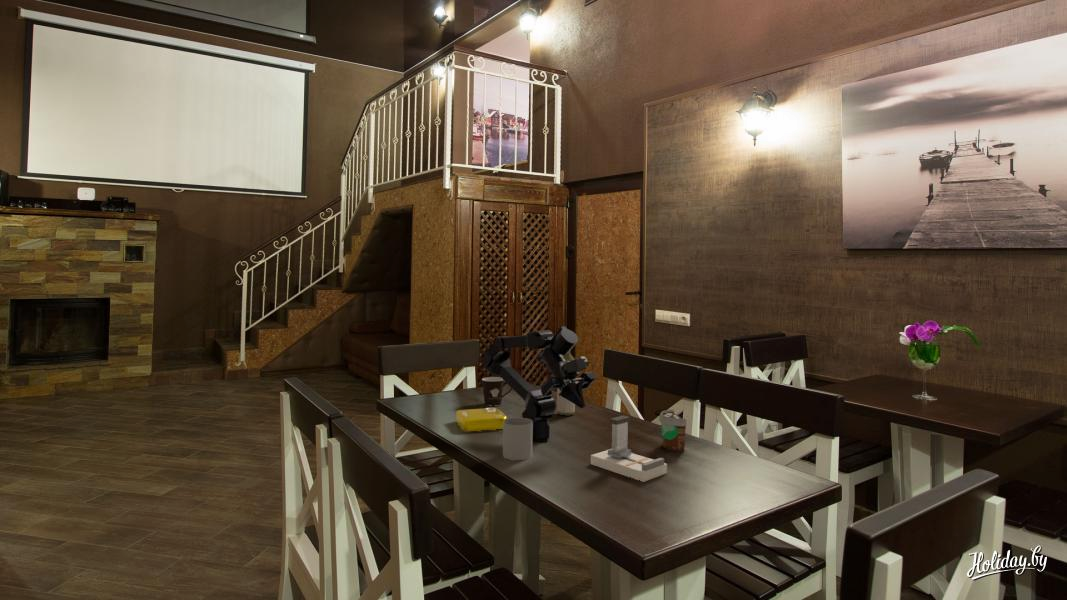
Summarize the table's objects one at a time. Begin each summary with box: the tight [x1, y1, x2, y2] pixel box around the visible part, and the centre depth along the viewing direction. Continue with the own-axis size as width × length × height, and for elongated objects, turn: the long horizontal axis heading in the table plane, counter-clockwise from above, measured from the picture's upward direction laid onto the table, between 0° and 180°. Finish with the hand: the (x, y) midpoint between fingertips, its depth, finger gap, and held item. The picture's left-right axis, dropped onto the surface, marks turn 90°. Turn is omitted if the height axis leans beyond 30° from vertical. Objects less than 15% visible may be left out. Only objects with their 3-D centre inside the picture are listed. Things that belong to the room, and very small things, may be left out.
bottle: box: [556, 350, 576, 417], centre depth 218 cm, size 7×7×30 cm
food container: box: [658, 409, 687, 452], centre depth 180 cm, size 12×6×10 cm, turn 5°
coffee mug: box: [481, 376, 513, 407], centre depth 232 cm, size 12×9×10 cm
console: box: [590, 448, 668, 483], centre depth 160 cm, size 18×10×4 cm, turn 42°
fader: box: [607, 415, 632, 459], centre depth 162 cm, size 4×6×10 cm
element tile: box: [455, 407, 508, 432], centre depth 203 cm, size 15×15×5 cm
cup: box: [502, 417, 533, 461], centre depth 170 cm, size 8×8×10 cm
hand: (583, 407), depth 172 cm, fingers closed
